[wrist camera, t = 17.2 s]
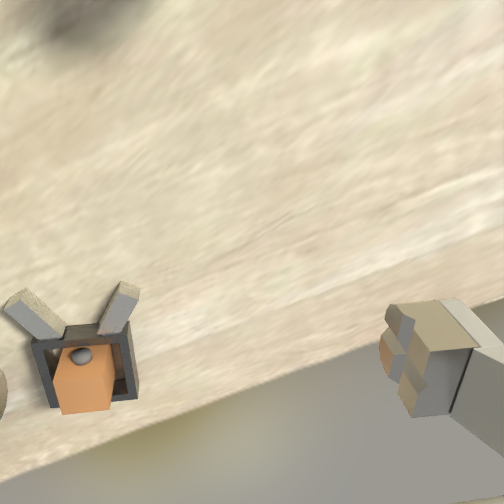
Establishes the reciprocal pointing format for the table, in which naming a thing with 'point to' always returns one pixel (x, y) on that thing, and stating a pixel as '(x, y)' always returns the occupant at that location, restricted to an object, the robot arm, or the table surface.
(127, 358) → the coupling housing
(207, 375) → the table surface
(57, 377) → the block
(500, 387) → the robot arm
